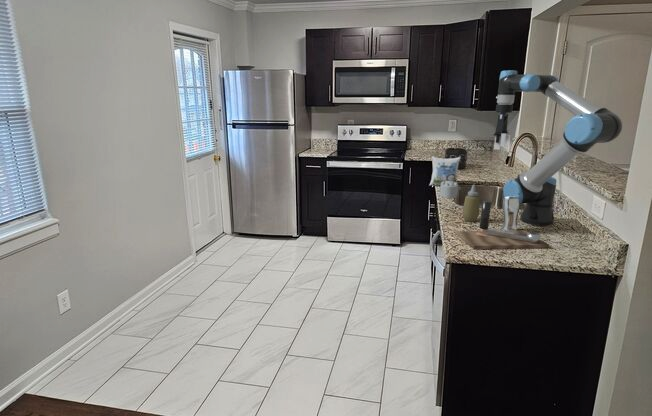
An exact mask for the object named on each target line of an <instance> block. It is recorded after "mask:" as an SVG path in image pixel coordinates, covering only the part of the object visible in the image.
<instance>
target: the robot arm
mask: <svg viewBox="0 0 652 416" xmlns="http://www.w3.org/2000/svg"><path fill="white" fill-rule="evenodd" d="M498 81H499V82H498V91H497V96H496V97H495V99H497V100H496V103H497V104H496V106H495V113H499V114H498V115H497V122H496V126H495V131H494V133H493V136H494V145H493V150H496V151H497V150H501V147H505V146H506V137H507V134H509V133H508V132H509V131H508V123H509V122H508V119H509V113H513V109H514V108H513V107H514V105H513V104H514V102H515V96H516V95H515V93H516V92H519V93H520V92H526V93H532V92H533V93H542V94H543V95H544V96H546V97H548V98H549V99H550V100H552V101H553V102H555V103H557V104H558V105H559V106H561V107H562V108H563V109H564V110H567V111H568V112H569V113H571V114H572V115H574V116H573V117H571V118H570V119H569V120H568V121H567V123H566V125H565V129H564V132H563V133H562V139H561V140H560V141H559V142H558V143H557V144H556V145H555V146H553V147H552V148H551V149H550V150H549V151H548V152H547V153H546V154H545V155H544V156H542V157H541V159H540V160H539V161H538V162H536V164H534V166H532V167H531V168H530V169H529V170H527V171H523V172H521V173H520V174H519V175H518V176H517V177H516V178H515V179H513V178H511V179H509V180H507V181H506V182H505V183H504V185H503V190H502V191H503V197H506V196H516V197H519V205H523V204H525V206H524V208H523V210H522V211H521V213H520V217H519V220H520V221H521V222H523V223H525V224H528V225H529V224H530V225H533V226H542V227H543V226H545V227H546V226H552V225H554V223H555V215H554V210H553V206H554V200H555V193H556V188H557V179H556V178H555V177H553V176H554V175H556V174H557V173H559V171H560V170H562V169H563V168H564V167H565V166H566V165H568V164H569V162H571V161H572V160H573V159H574V158H575V157H576V156H577V155H579V153H583V154H584V153H586V152H588V151H589V150H590V149H591V148H593V147H594V146H595V145H596V144H604V143H610V142H612V141H614V140H616V139H617V138H619V136H620V135H621V133H622V130H623V122H622V119H621V118H620V117H619V116H618V115H617V114H616V113H615V112H613V111H611V110H609V109H608V108H606V107H599V106H597V105H596V104H594V103H593V102H592V101H590V100H588V99H587V98H585V97H583V96H582V95H580V94H579V93H577V92H576V91H574V90H572V89H571V88H569V87H567V86H566V85H565V84H563V83H561V82H560V79H559V78H558V77H557V76H555V75H552V74H545V75H544V74H533V73H526V74H518V71H517V70H513V69H512V70H510V69H509V70H502V71H500V75H499V79H498Z"/></svg>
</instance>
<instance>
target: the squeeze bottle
mask: <svg viewBox="0 0 652 416" xmlns="http://www.w3.org/2000/svg"><path fill="white" fill-rule="evenodd" d="M480 199H481V198H480V197H479V192H478V191H477V188H476V184H472V186H471V189H470V190H469V191H468V192H467V195H466V196H465V199H464V203H463V207H462V217H463V220H464V221H466V222H471V223H473V222H477V220H478V218H479V215H480V202H481V201H480Z"/></svg>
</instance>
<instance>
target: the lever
mask: <svg viewBox="0 0 652 416" xmlns="http://www.w3.org/2000/svg"><path fill="white" fill-rule="evenodd" d="M481 203H482V204H481V210H480V219H479V220H480V221H479V225H478V226H479V230H483V234H489V235H495V236H500V237H506V238H512V239H517V240H523V241H528V242H531V243H539V242H540V239H541V236H542V235H541V234H540V233H537V232H532V231H531V232H529V231H528V232H529V233H527V234H522V233H516V232H510V231H507V230H504V229H503V230H502V229H497V228H491V227H489V224H490V215H491V207H492V201H489V200H482V202H481Z"/></svg>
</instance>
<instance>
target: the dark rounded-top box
mask: <svg viewBox="0 0 652 416" xmlns="http://www.w3.org/2000/svg"><path fill="white" fill-rule="evenodd" d="M444 152H445V153H444V159H450V158H458V157H461V158H460V160H459V164H458V169H457V171H459V170H465V168H467V161H468V154H469V153H468V150H467V149H466V148H462V147H459V148H458V147H456V148H455V147H448V148H446V149H445V151H444Z"/></svg>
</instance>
